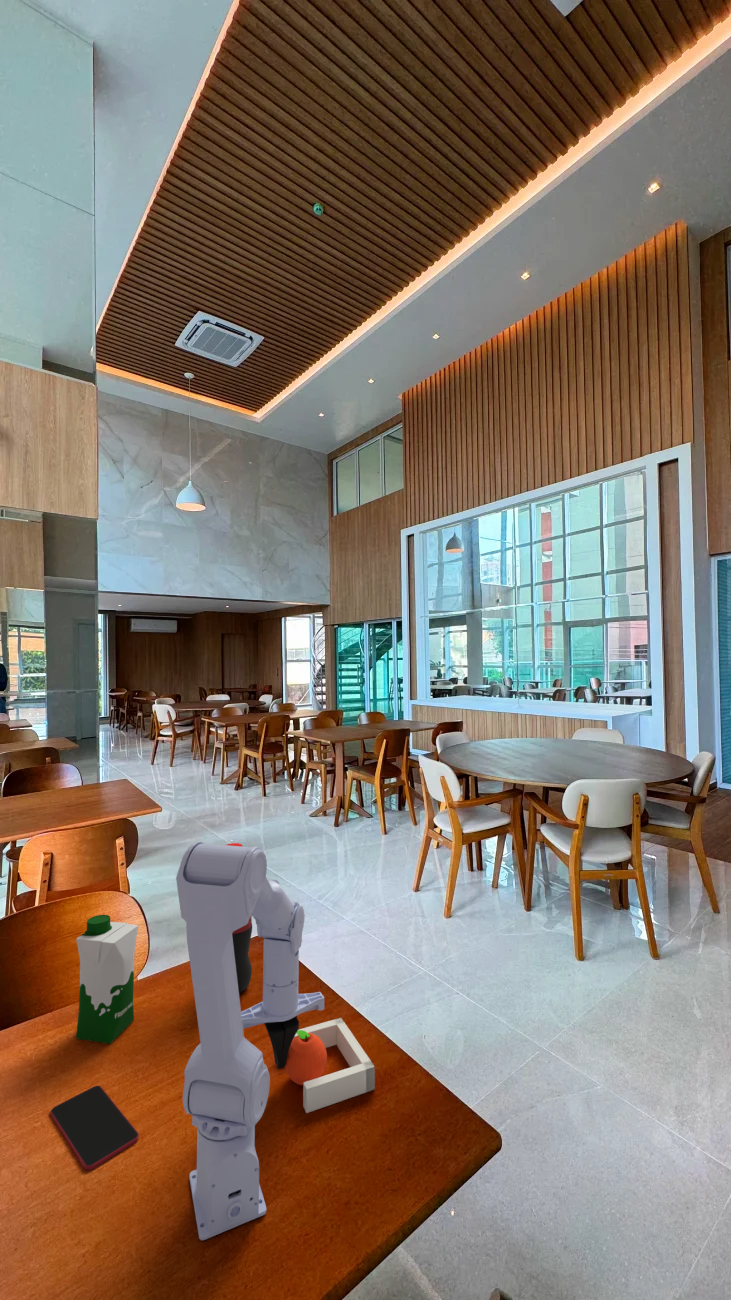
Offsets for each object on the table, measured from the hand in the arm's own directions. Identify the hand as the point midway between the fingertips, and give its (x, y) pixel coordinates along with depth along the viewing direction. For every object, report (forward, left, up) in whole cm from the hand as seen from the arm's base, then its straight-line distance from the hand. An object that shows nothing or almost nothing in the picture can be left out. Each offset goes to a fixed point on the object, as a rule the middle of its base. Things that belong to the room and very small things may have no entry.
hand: (279, 1064), depth 88 cm
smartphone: (+4, +27, -4) cm, 28 cm away
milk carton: (+27, +25, -4) cm, 38 cm away
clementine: (0, -4, -4) cm, 5 cm away
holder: (0, -8, -3) cm, 9 cm away
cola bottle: (+31, +1, -4) cm, 32 cm away
